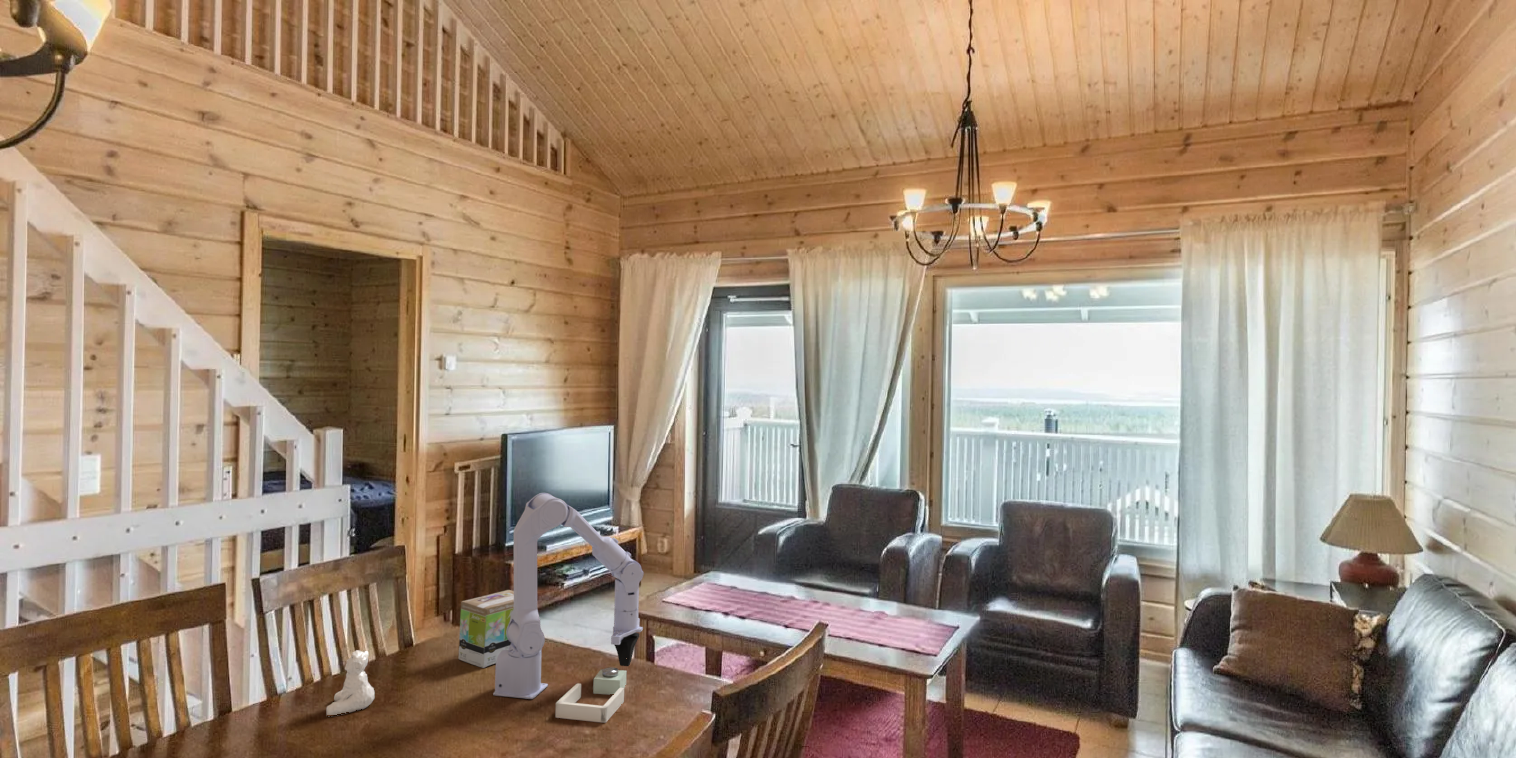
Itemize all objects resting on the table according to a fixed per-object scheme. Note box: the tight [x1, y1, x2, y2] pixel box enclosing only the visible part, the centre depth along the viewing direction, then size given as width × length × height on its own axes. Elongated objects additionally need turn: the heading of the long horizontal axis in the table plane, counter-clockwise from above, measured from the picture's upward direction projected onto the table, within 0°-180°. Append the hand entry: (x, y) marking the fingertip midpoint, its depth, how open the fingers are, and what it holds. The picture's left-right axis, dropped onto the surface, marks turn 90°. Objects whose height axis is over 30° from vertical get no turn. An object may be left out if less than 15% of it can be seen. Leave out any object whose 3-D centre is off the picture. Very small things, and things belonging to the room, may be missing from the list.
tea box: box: [458, 589, 514, 669], centre depth 205 cm, size 15×10×15 cm
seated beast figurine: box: [325, 649, 376, 716], centre depth 173 cm, size 10×9×12 cm
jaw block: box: [592, 666, 627, 695], centre depth 186 cm, size 6×6×4 cm
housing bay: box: [554, 683, 625, 724], centre depth 174 cm, size 11×11×3 cm
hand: (625, 665), depth 195 cm, fingers closed
